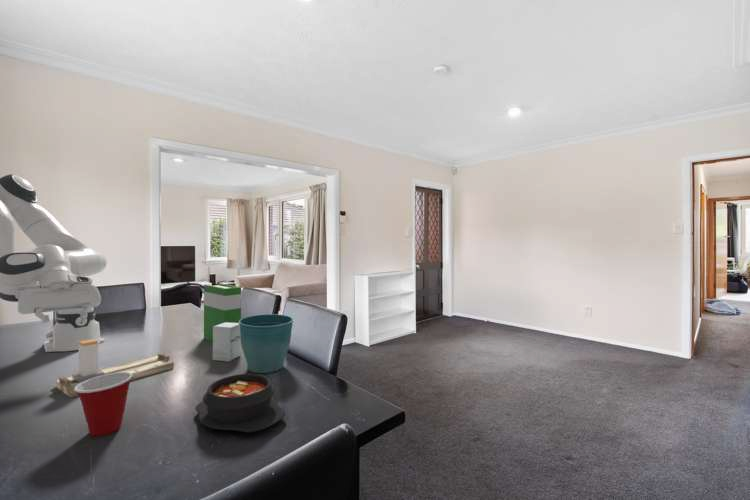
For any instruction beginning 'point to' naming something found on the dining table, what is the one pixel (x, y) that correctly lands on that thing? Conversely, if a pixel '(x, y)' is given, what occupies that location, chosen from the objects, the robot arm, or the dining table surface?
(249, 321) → the flower pot
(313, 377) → the dining table surface
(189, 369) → the dining table surface
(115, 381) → the plastic cup
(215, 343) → the supplement box
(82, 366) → the fader handle
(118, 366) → the fader console
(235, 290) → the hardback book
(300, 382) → the dining table surface
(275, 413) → the casserole
